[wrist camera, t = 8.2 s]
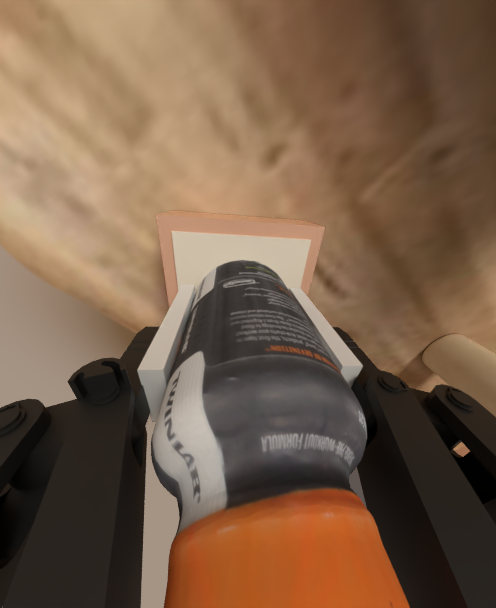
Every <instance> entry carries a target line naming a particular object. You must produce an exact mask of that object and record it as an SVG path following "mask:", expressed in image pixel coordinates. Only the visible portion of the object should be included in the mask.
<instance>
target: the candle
mask: <svg viewBox="0 0 496 608" xmlns="http://www.w3.org/2000/svg"><path fill="white" fill-rule="evenodd" d="M422 361H423V363H424V364H425V365H426V366H427V367H428V368H430V369H431V370H432V371H433V372H434V373H435V374H437V375H438V376H439V377H440V378H441V379H443V380H444V381H445V382H446V383H447V384H448V385H450V386H451V387H454V388H457V389H459V390H461V391H463V392H464V393H466V394H468V395H469V396H471V397H472V398H474V399H475V400H476V401H478V402H479V403H480V404H481V405H482V406H483V407H485V408H486V409H487V410H488V411H489V412H490V413H492V414H493V415H494V416H495V417H496V354H495V353H493V352H491V351H489V350H488V349H486V348H484V347H483V346H481V345H479V344H477V343H476V342H474V341H472V340H470V339H469V338H467V337H465V336H463V335H460V334H450V335H446V336H443V337H441V338H439V339H437V340H436V341H434V342H433V343H432V344H430V345H429V346H428V347H427V348H426V350H425V351H424V353H423V355H422Z"/></svg>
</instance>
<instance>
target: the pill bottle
mask: <svg viewBox="0 0 496 608" xmlns="http://www.w3.org/2000/svg"><path fill="white" fill-rule="evenodd" d="M366 440H367V428H366V421H365V417H364V413H363V410H362V407H361V405H360V403H359V401H358V399H357V398H356V396H355V394H354V392H353V391H352V389H351V388H350V386H349V385H348V383H347V381H346V380H345V378H344V377H343V375H342V374H341V372H340V370H339V369H338V367H337V366H336V364H335V363H334V361H333V359H332V357H331V356H330V354H329V353H328V351H327V350H326V348H325V347H324V345H323V343H322V342H321V340H320V339H319V337H318V335H317V334H316V332H315V330H314V329H313V327H312V326H311V324H310V323H309V321H308V319H307V318H306V316H305V315H304V313H303V311H302V310H301V308H300V307H299V305H298V304H297V302H296V301H295V299H294V297H293V296H292V294H291V293H290V291H289V290H288V288H287V287H286V286H285V284H284V282H283V281H282V279H281V278H280V277H279V275H278V274H277V273H276V272H274V271H273V270H272V269H270V268H269V267H267V266H266V265H263V264H261V263H259V262H256V261H247V260H238V261H231V262H228V263H224V264H222V265H220V266H218V267H216V268H215V269H213V270H212V271H211V272H210V273H209V274H208V275H207V276H206V277H205V278H204V279H203V280H202V282H201V284H200V286H199V288H198V290H197V293H196V296H195V300H194V303H193V306H192V309H191V313H190V315H189V318H188V321H187V324H186V328H185V331H184V335H183V337H182V340H181V344H180V347H179V350H178V354H177V357H176V361H175V363H174V365H173V368H172V372H171V375H170V378H169V382H168V386H167V389H166V392H165V395H164V399H163V402H162V405H161V408H160V411H159V415H158V418H157V421H156V424H155V428H154V432H153V435H152V441H151V456H152V463H153V466H154V469H155V472H156V474H157V476H158V478H159V481H160V483H161V484H162V485H163V486H164V487H165V488H166V489H167V490H168V491H169V492H170V493H171V494H172V495H173V496H175V497H176V498H177V501H178V507H179V516H180V520H179V526H178V530H177V533H176V536H175V538H174V540H173V542H172V545H171V549H170V555H169V566H168V582H167V589H166V596H165V603H164V608H410V607H409V604H408V601H407V599H406V596H405V594H404V592H403V590H402V587H401V585H400V583H399V580H398V578H397V576H396V573H395V571H394V569H393V567H392V564H391V562H390V560H389V558H388V555H387V553H386V551H385V549H384V546H383V544H382V541H381V538H380V534H379V531H378V528H377V525H376V523H375V520H374V518H373V516H372V515H371V513H370V512H369V511H368V509H367V508H366V507H365V506H364V504H363V503H362V501H361V500H360V498H359V497H358V496H357V494H356V493H355V492H354V491H353V490H352V489H351V488H350V484H349V475H350V474H351V473H352V472H353V471H354V469H355V468H356V467H357V465H358V464H359V463H360V461H361V459H362V457H363V454H364V450H365V446H366Z"/></svg>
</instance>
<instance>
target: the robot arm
mask: <svg viewBox="0 0 496 608" xmlns="http://www.w3.org/2000/svg"><path fill="white" fill-rule="evenodd" d="M289 291H290V293H291V294H292V296H293V297H294V299H295V301H296V302H297V304H298V305H299V307H300V308H301V310H302V311H303V313H304V315H305V316H306V318H307V319H308V321H309V323H310V324H311V326H312V327H313V329H314V330H315V332H316V334H317V335H318V337H319V339H320V340H321V342H322V343H323V345H324V347H325V348H326V350H327V351H328V353H329V354H330V356H331V357H332V359H333V361H334V363H335V364H336V366H337V367H338V369H339V370H340V372H341V374H342V375H343V377H344V378H345V380H346V381H347V383H348V385H349V386H350V388H351V389H352V391H353V392H354V394H355V396H356V398H357V399H358V401H359V403H360V405H361V407H362V410H363V413H364V417H365V421H366V428H367V440H366V446H365V450H364V454H363V457H362V459H361V461H360V463H359V464H358V465H357V469H358V473H359V477H360V481H361V486H362V490H363V494H364V498H365V502H366V506H367V509H368V511H369V512H370V513H371V515H372V516H373V518H374V520H375V523H376V525H377V528H378V531H379V534H380V538H381V541H382V544H383V546H384V549H385V551H386V553H387V555H388V558H389V560H390V562H391V564H392V567H393V569H394V571H395V573H396V576H397V578H398V580H399V583H400V585H401V587H402V590H403V592H404V594H405V596H406V599H407V601H408V604H409V607H410V608H496V417H495V416H494V415H493V414H492V413H490V412H489V411H488V410H487V409H486V408H485V407H483V406H482V405H481V404H480V403H479V402H478V401H476V400H475V399H474V398H472V397H471V396H469V395H468V394H466V393H464V392H463V391H461V390H459V389H457V388H454V387H451V386H448V385H442V384H441V385H436V386H435V388H434V389H433V390H432V391H431V392H430V393H429V392H424V391H420V390H416V389H412V388H409V387H408V386H407V384H406V383H405V382H403V381H402V380H401V379H400V378H398V377H396V376H395V375H393V374H391V373H388V372H385V371H379V369H378V368H377V367H376V366H375V365H374V364H373V363H372V361H371V360H370V359H369V358H368V357H367V356H366V355H365V353H364V352H363V351H362V350H361V349H360V348H358V345H357V344H356V343H355V342H353V340H352V339H351V337H350V336H349V335H348V334H347V333H346V332H344V331H343V330H341V329H340V328H338V327H331V325H330V324H329V323H328V322H327V320H326V319H325V318H324V317H323V315H322V314H321V313H320V312H319V310H318V309H317V308H316V307H315V305H314V304H313V303H312V302H311V300H310V299H309V298H308V297H307V295H306V294H305V293H304V292H303V290H302V289H301V288H289ZM195 296H196V294H195V285H187V284H182V285H181V287H180V289H179V291H178V293H177V295H176V297H175V299H174V301H173V303H172V305H171V306H170V308H169V310H168V312H167V314H166V316H165V318H164V320H163V322H162V324H161V326H160V327H145V328H144V329H142V330H141V331H140V332H138V333H137V334H136V336H135V337H134V339H133V340H132V343H130V345H129V346H128V348H127V350H126V351H125V352H124V354H123V356H122V357H121V358H120V359H116V358H103V359H99V360H96V361H93V362H91V363H89V364H87V365H85V366H83V367H81V368H80V369H79V370H77V371H76V372H75V373H74V374H73V375H72V376H71V378H70V379H69V380H68V383H69V385H70V387H71V388H72V390H73V392H74V394H75V396H76V398H77V399H75V400H72V401H68V402H64V403H61V404H57V405H53V406H50V407H46V408H45V406H44V405H43V404H42V403H41V402H40V401H39V400H36V399H26V400H21V401H16V402H14V403H11V404H9V405H6V406H4V407H1V408H0V608H140V605H141V579H142V552H143V525H144V500H145V473H146V446H147V432H146V427H145V425H146V422H147V419H148V417H149V414H150V416H151V419H152V422H156V421H157V418H158V415H159V411H160V408H161V405H162V402H163V399H164V395H165V392H166V389H167V386H168V382H169V378H170V375H171V372H172V368H173V365H174V363H175V361H176V357H177V354H178V350H179V347H180V344H181V340H182V337H183V335H184V331H185V328H186V324H187V321H188V318H189V315H190V313H191V309H192V306H193V303H194V300H195ZM460 442H463V443H464V445H465V446H466V447H467V448H468V449H469V450H470V452H469V453H468V454H466V455H465V456H464V457H462V456H460V455H458V454H457V453H456V452H455V451H454V450H453V448H455V447H456V446H457V445H458V444H459V443H460ZM2 606H3V607H2Z"/></svg>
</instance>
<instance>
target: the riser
mask: <svg viewBox="0 0 496 608" xmlns="http://www.w3.org/2000/svg"><path fill="white" fill-rule="evenodd" d="M156 219H157V226H158V233H159V240H160V247H161V254H162V261H163V268H164V275H165V282H166V289H167V296H168V303H169V308H170V306H171V305H172V303H173V301H174V299H175V297H176V295H177V293H178V291H179V289H180V287H181V285H182V284H187V285H195V294H196V293H197V290H198V288H199V286H200V284H201V282H202V280H203V279H204V278H205V277H206V276H207V275H208V274H209V273H210V272H211V271H212V270H213V269H215V268H216V267H218V266H220V265H222V264H224V263H228V262H231V261H238V260H247V261H256V262H259V263H261V264H263V265H266V266H267V267H269V268H270V269H272V270H273V271H274V272H276V273H277V274H278V275H279V277H280V278H281V279H282V281H283V282H284V284H285V286H286V287H287V288H288V290H289V288H301V289H302V290H303V292H304V293H305V294H306V295H307V297H308V293H309V289H310V285H311V281H312V277H313V274H314V270H315V266H316V262H317V258H318V254H319V250H320V246H321V242H322V238H323V234H324V230H325V227H324V226H320V225H317V224H314V223H310V222H307V221H304V220H293V219H279V218H266V217H253V216H240V215H227V214H213V213H200V212H187V211H174V210H173V211H169V212H165V213H161V214H157V215H156Z"/></svg>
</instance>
